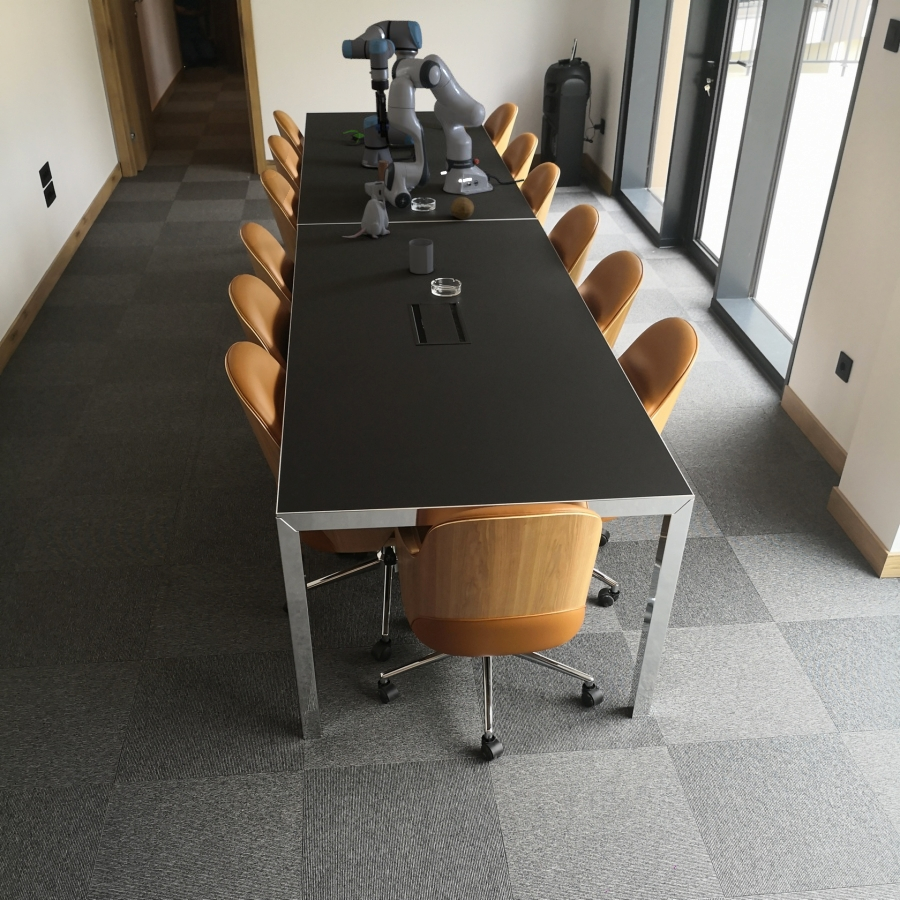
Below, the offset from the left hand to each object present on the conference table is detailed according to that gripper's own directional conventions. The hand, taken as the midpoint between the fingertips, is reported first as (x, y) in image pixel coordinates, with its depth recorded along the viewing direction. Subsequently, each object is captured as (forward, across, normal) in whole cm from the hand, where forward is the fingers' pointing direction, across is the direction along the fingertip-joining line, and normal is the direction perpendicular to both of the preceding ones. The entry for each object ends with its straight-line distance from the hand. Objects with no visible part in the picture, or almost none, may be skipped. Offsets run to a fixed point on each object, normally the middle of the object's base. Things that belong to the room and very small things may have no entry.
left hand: (382, 135), depth 382 cm
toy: (+21, +67, -19) cm, 73 cm away
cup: (+20, +105, -4) cm, 107 cm away
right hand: (+17, +13, -2) cm, 21 cm away
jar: (+23, +14, -2) cm, 27 cm away
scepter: (+25, -85, +6) cm, 89 cm away
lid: (-4, 0, 0) cm, 4 cm away
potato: (+22, +51, +24) cm, 60 cm away
